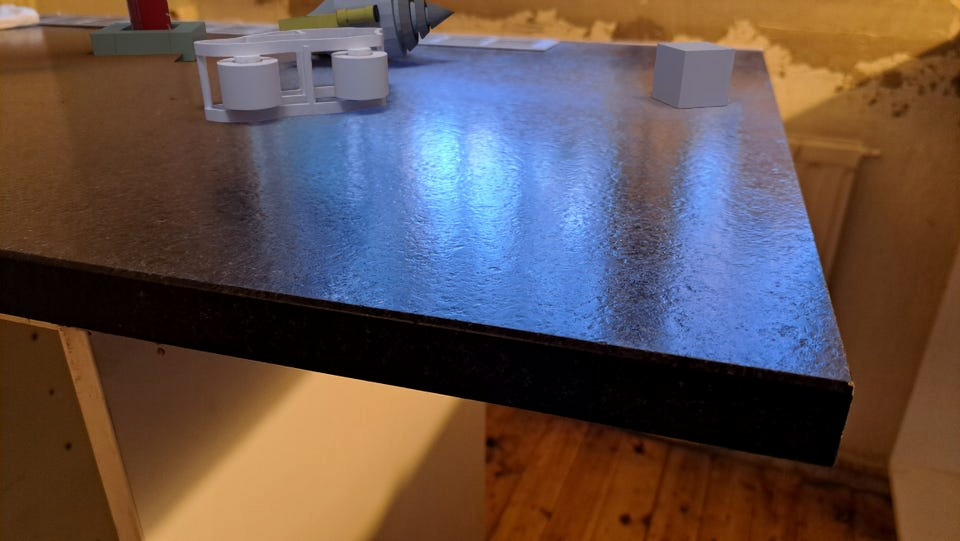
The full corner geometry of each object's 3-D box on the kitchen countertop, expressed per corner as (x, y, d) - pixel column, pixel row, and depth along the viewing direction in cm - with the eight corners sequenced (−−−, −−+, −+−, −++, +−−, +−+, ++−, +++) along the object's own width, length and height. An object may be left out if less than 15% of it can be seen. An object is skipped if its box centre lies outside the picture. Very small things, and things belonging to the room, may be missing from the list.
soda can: (180, 56, 105) (165, -32, 100) (140, 59, 102) (122, -31, 97) (173, 51, 109) (158, -34, 104) (134, 54, 107) (117, -33, 101)
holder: (96, 63, 99) (89, 33, 97) (120, 49, 110) (115, 22, 109) (195, 61, 101) (190, 32, 99) (208, 47, 113) (204, 21, 111)
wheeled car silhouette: (212, 131, 66) (198, 50, 63) (199, 107, 75) (187, 34, 72) (412, 111, 74) (410, 38, 71) (379, 91, 83) (376, 25, 80)
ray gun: (308, 10, 109) (259, -19, 90) (459, -11, 107) (443, -46, 87) (319, 84, 111) (273, 71, 92) (468, 64, 109) (454, 47, 89)
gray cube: (651, 97, 81) (657, 43, 78) (697, 94, 82) (704, 41, 80) (678, 108, 76) (685, 50, 73) (727, 105, 77) (736, 48, 75)
